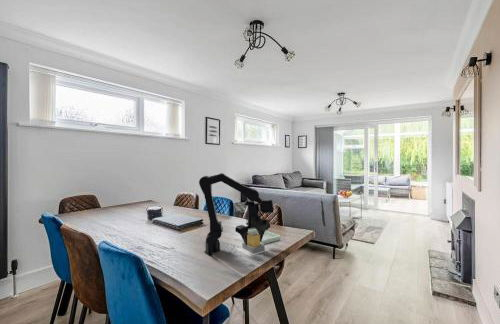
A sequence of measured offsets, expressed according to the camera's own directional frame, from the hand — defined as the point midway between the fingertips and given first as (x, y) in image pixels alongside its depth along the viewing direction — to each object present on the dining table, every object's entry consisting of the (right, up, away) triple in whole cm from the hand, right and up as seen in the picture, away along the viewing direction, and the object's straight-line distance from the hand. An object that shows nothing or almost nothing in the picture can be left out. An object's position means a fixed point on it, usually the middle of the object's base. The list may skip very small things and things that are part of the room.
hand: (253, 243), depth 130 cm
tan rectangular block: (0, -3, 0) cm, 3 cm away
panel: (0, -4, 0) cm, 4 cm away
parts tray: (+5, -4, +19) cm, 20 cm away
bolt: (+2, -3, +42) cm, 42 cm away
